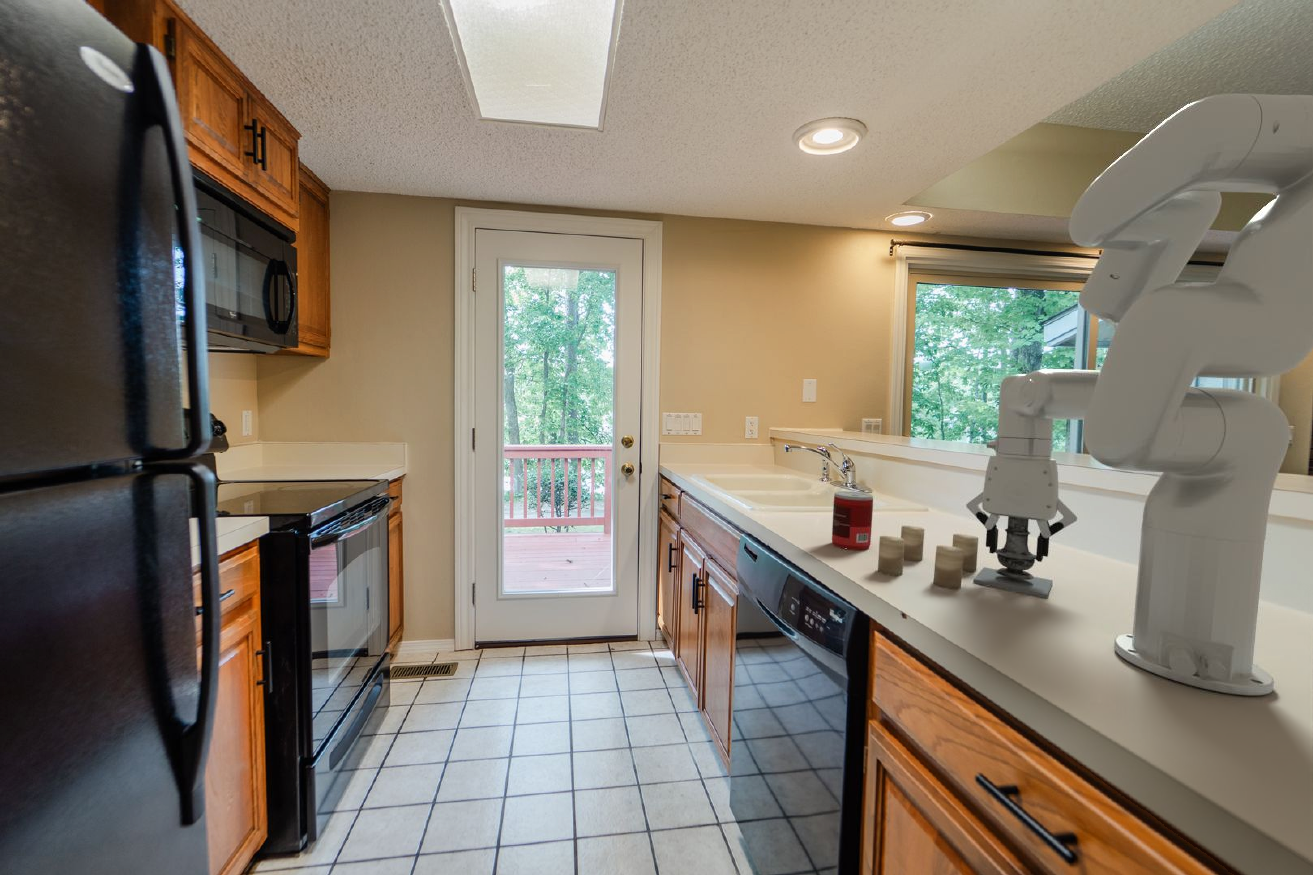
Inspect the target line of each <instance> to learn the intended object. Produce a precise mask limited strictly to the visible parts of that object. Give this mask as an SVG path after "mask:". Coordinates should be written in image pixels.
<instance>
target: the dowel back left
mask: <svg viewBox="0 0 1313 875" xmlns="http://www.w3.org/2000/svg"><path fill="white" fill-rule="evenodd" d="M900 538H902V539H904V540H905V543H904V559H903V560H906V561H911V562H922V561H923V560H924V559H923V558H924V542H925V528H924V527H920V526H915V525H901V533H900Z"/></svg>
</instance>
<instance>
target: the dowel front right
mask: <svg viewBox="0 0 1313 875" xmlns="http://www.w3.org/2000/svg"><path fill="white" fill-rule="evenodd" d="M935 549H936V550H935V560H934V569H933V570H934V571H933V573H934V574H933V584H935V585H937V586H939V587H943V588H946V589H955V590H958V589H961V588H962V581H963V580H962V579H963V572H964V571H963V559H964V550H963V549H960V548H957V547H952V546H951V545H942V544H941V545H936V548H935Z"/></svg>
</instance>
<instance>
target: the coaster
mask: <svg viewBox="0 0 1313 875" xmlns="http://www.w3.org/2000/svg"><path fill="white" fill-rule="evenodd" d="M996 570H997V569H996V568H992V567H991V568H990V567H986V566H985V567H982V568H981V570H980V571H979V572H978V573H977V575H976V576H974V578H973V581H972V582H973V584H978V585H983V586H987V587H992V588H997V589H1002V590H1005V591H1009V592H1010V591H1011V592H1016V593H1020V594H1025V595H1029V596H1030V595H1031V596H1035V597H1040V598H1045V599H1048V597H1049V594H1050V593H1051V588H1052V586H1053V580H1052V579H1048V578H1042V577H1038V576H1033V577H1034V579H1031V580H1023V579H1015V578H1010V577H1006V576H1002V575H1000V574H998V573H996Z"/></svg>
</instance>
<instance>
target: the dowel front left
mask: <svg viewBox="0 0 1313 875" xmlns="http://www.w3.org/2000/svg"><path fill="white" fill-rule="evenodd" d="M904 543H905V540H904V539H902V538H901V537H898V536H892V535H881V536H879V544H878V559H877V560H878V562H877V563H878V564H877V572H878V571H879V572H878V573H880V572H881V573H880V574H883V575H886V574H889V575H888V576H892V575H894V576H895V577H898V576H899V575H900V576H903V572H904V560H905V559H904Z"/></svg>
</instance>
